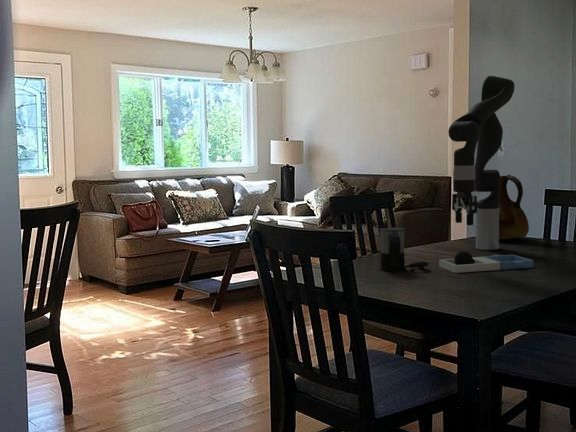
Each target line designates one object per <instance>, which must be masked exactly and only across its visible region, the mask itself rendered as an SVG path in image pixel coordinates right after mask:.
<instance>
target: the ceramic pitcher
mask: <svg viewBox="0 0 576 432" xmlns="http://www.w3.org/2000/svg"><path fill="white" fill-rule="evenodd" d="M509 181H511V182H512V183H514V185H515V186H516V189H517V198H516V201H513V200H512V199H511V198H510V196H509V193H508V187H507V186H508V182H509ZM523 195H524V189H523V184H522V182H521V180H520V179H519V178H517V177H516V176H514V175H512V174H507V175H500V192H499V241H500V240H513V239H520V238H525V237H526V236H528V233H529V232H530V231H529V230H530V229H529V228H530V227H529V221H528V216H527V215H526V213H525V211H524V210H523V209H522V207H521V204H522V203H521V202H522V199H523Z"/></svg>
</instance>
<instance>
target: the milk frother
mask: <svg viewBox="0 0 576 432" xmlns="http://www.w3.org/2000/svg"><path fill="white" fill-rule="evenodd" d="M378 230H379V240H380V241H379V243H380V244H379V245H380V246H379V247H380V248H379V249H380V253H379V254H380V255H379V256H380V262H379V263H380V264H379V265H380V267H379V269H380V270H382V271H390V272H392V271H397V272H398V271H403V270H405V269H407V268H409V269H417V268H419V270H423V269H425V267H427V266H429V265H430V264H429V262H427V261H418V262H413V263H410V264H408V265H405V264H406V263H405V230H406V228H404V227H381V228H379V229H378Z"/></svg>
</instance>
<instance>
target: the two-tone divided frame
mask: <svg viewBox="0 0 576 432" xmlns="http://www.w3.org/2000/svg"><path fill="white" fill-rule="evenodd" d="M472 257H473V256H472ZM454 259H455V258H447V259H446V258H445V259H443V258H442V259H438V262H439V263H438V266H439V268H442V269H445V270H447V271H449V272H452V273H455V274H458V273H472V272H474V273H475V272H484V271H485V272H486V271H488V272H489V271H499V270H500V271H501V270H502V271H503V270H511V269H512V270H514V269H527V268H534V260H533V259H531V258H526V257H524V256H523V257H522V256H520V255H518V254H517V255H516V254H506V255H501V254H491V256H490V255H489V256H488V255H487V256H475V257H473V259H474V260H475V263H477V264H465V265H456V264H455V261H454Z"/></svg>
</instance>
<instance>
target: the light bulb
mask: <svg viewBox="0 0 576 432" xmlns="http://www.w3.org/2000/svg"><path fill="white" fill-rule="evenodd" d="M453 259H454V261H455V264H456V265H465V264H477V263H475V260H474V259H473V256H472V253H470V252H469V251H466V250H461V251H458V252H457V253H456V254H455V256H454V258H453Z"/></svg>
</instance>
